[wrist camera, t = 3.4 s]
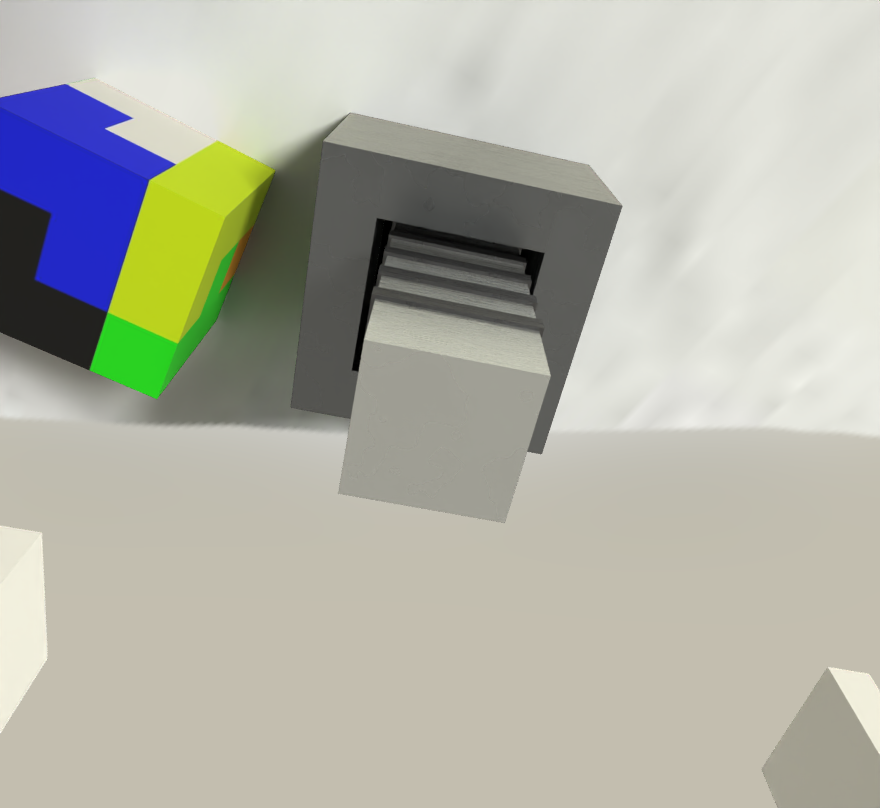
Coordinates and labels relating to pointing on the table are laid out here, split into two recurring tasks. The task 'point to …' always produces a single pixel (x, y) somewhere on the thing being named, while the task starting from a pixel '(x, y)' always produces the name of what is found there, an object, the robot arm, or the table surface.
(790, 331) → the table surface
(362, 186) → the housing
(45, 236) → the puzzle toy
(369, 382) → the column
